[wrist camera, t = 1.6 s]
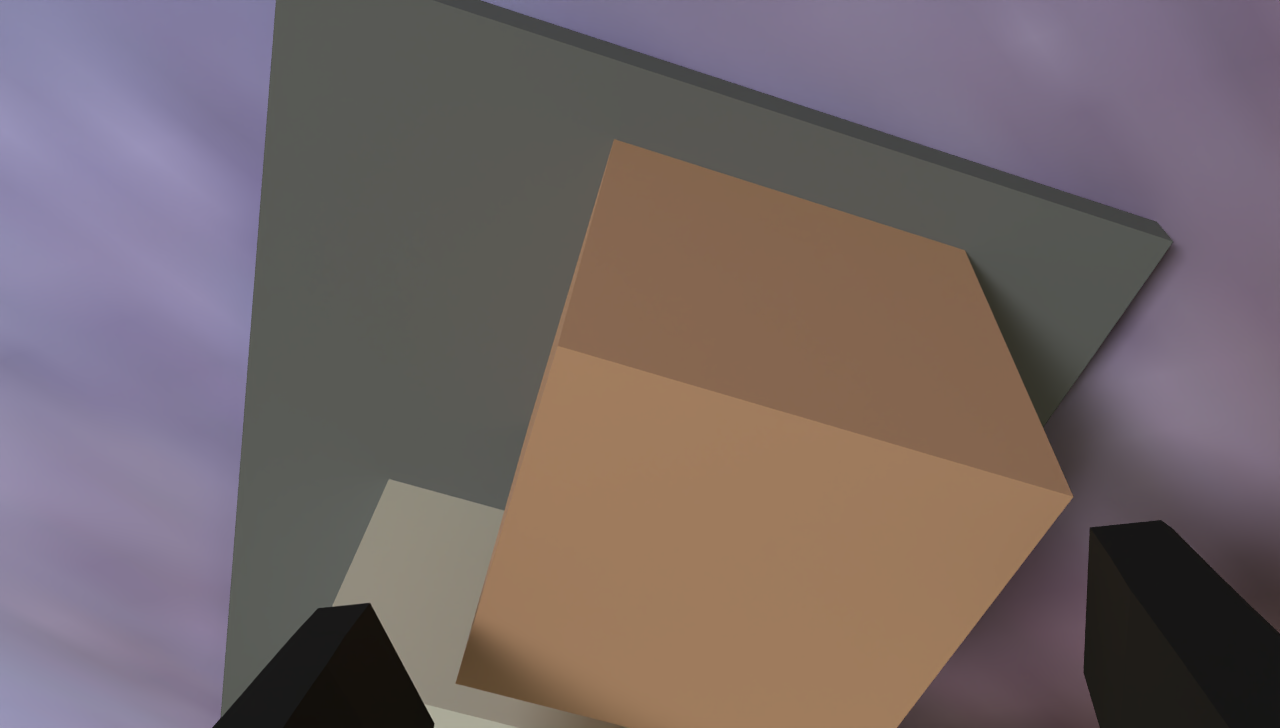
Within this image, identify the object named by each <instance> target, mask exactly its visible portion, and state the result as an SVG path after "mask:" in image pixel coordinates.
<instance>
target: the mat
mask: <svg viewBox="0 0 1280 728" xmlns="http://www.w3.org/2000/svg"><path fill="white" fill-rule="evenodd" d="M614 139H616V140H619V141H622V142H625V143H628V144H631V145H634V146H638V147H641V148H644V149H647V150H650V151H653V152H657V153H660V154H663V155H666V156H669V157H672V158H675V159H679V160H682V161H685V162H688V163H691V164H694V165H698V166H701V167H704V168H707V169H710V170H713V171H716V172H720V173H723V174H726V175H729V176H732V177H735V178H739V179H742V180H745V181H748V182H751V183H754V184H757V185H761V186H764V187H767V188H770V189H773V190H776V191H780V192H783V193H786V194H789V195H792V196H795V197H798V198H802V199H805V200H808V201H811V202H814V203H817V204H821V205H824V206H827V207H830V208H833V209H836V210H839V211H843V212H846V213H849V214H852V215H855V216H858V217H862V218H865V219H868V220H871V221H874V222H877V223H880V224H884V225H887V226H890V227H893V228H896V229H899V230H903V231H906V232H909V233H912V234H915V235H918V236H921V237H925V238H928V239H931V240H934V241H937V242H940V243H943V244H947V245H950V246H953V247H956V248H959V249H962V250H965V252H966V254H967V256H968V259H969V261H970V263H971V265H972V268H973V270H974V272H975V275H976V277H977V279H978V281H979V284H980V286H981V288H982V290H983V293H984V295H985V297H986V299H987V302H988V304H989V306H990V309H991V311H992V313H993V315H994V318H995V320H996V322H997V324H998V327H999V329H1000V331H1001V334H1002V336H1003V338H1004V340H1005V343H1006V345H1007V347H1008V349H1009V352H1010V354H1011V356H1012V359H1013V361H1014V363H1015V365H1016V368H1017V370H1018V372H1019V374H1020V377H1021V379H1022V381H1023V384H1024V386H1025V388H1026V390H1027V393H1028V395H1029V397H1030V399H1031V402H1032V404H1033V406H1034V409H1035V411H1036V413H1037V415H1038V418H1039V420H1040V422H1041V424H1042V427H1044V425H1045V424H1046V422H1047V421H1048V420H1049V418H1050V417H1051V415H1052V414H1053V412H1054V411H1055V410H1056V408H1057V407H1058V405H1059V404H1060V402H1061V401H1062V400H1063V398H1064V397H1065V395H1066V394H1067V392H1068V391H1069V390H1070V388H1071V387H1072V385H1073V384H1074V382H1075V381H1076V380H1077V378H1078V377H1079V375H1080V374H1081V372H1082V371H1083V370H1084V368H1085V367H1086V365H1087V364H1088V362H1089V361H1090V360H1091V358H1092V357H1093V355H1094V354H1095V352H1096V351H1097V350H1098V348H1099V347H1100V345H1101V344H1102V342H1103V341H1104V340H1105V338H1106V337H1107V335H1108V334H1109V332H1110V331H1111V330H1112V328H1113V327H1114V325H1115V324H1116V322H1117V321H1118V320H1119V318H1120V317H1121V315H1122V314H1123V312H1124V311H1125V310H1126V308H1127V307H1128V305H1129V304H1130V302H1131V301H1132V300H1133V298H1134V297H1135V295H1136V294H1137V292H1138V291H1139V290H1140V288H1141V287H1142V285H1143V284H1144V282H1145V281H1146V280H1147V278H1148V277H1149V275H1150V274H1151V272H1152V271H1153V270H1154V268H1155V267H1156V265H1157V264H1158V262H1159V261H1160V260H1161V258H1162V257H1163V255H1164V254H1165V252H1166V251H1167V250H1168V248H1169V247H1170V245H1171V244H1172V242H1173V241H1172V240H1171V238H1170V237H1169V236H1168V235H1167V234H1166V232H1165V231H1164V230H1163V229H1162V228H1161V227H1160V225H1159V224H1158V223H1157V222H1155V221H1152V220H1149V219H1146V218H1143V217H1140V216H1137V215H1134V214H1131V213H1128V212H1125V211H1122V210H1119V209H1116V208H1113V207H1110V206H1107V205H1103V204H1100V203H1097V202H1094V201H1091V200H1088V199H1085V198H1082V197H1079V196H1076V195H1073V194H1070V193H1067V192H1064V191H1061V190H1058V189H1055V188H1052V187H1048V186H1045V185H1042V184H1039V183H1036V182H1033V181H1030V180H1027V179H1024V178H1021V177H1018V176H1015V175H1012V174H1009V173H1006V172H1003V171H1000V170H997V169H994V168H990V167H987V166H984V165H981V164H978V163H975V162H972V161H969V160H966V159H963V158H960V157H957V156H954V155H951V154H948V153H945V152H942V151H939V150H936V149H932V148H929V147H926V146H923V145H920V144H917V143H914V142H911V141H908V140H905V139H902V138H899V137H896V136H893V135H890V134H887V133H884V132H881V131H878V130H874V129H871V128H868V127H865V126H862V125H859V124H856V123H853V122H850V121H847V120H844V119H841V118H838V117H835V116H832V115H829V114H826V113H823V112H819V111H816V110H813V109H810V108H807V107H804V106H801V105H798V104H795V103H792V102H789V101H786V100H783V99H780V98H777V97H774V96H771V95H768V94H765V93H761V92H758V91H755V90H752V89H749V88H746V87H743V86H740V85H737V84H734V83H731V82H728V81H725V80H722V79H719V78H716V77H713V76H710V75H707V74H703V73H700V72H697V71H694V70H691V69H688V68H685V67H682V66H679V65H676V64H673V63H670V62H667V61H664V60H661V59H658V58H655V57H652V56H649V55H645V54H642V53H639V52H636V51H633V50H630V49H627V48H624V47H621V46H618V45H615V44H612V43H609V42H606V41H603V40H600V39H597V38H594V37H590V36H587V35H584V34H581V33H578V32H575V31H572V30H569V29H566V28H563V27H560V26H557V25H554V24H551V23H548V22H545V21H542V20H539V19H536V18H532V17H529V16H526V15H523V14H520V13H517V12H514V11H511V10H508V9H505V8H502V7H499V6H496V5H493V4H490V3H487V2H484V1H481V0H276V8H275V20H274V33H273V46H272V59H271V72H270V85H269V98H268V111H267V124H266V137H265V150H264V163H263V176H262V189H261V202H260V215H259V228H258V241H257V254H256V267H255V279H254V292H253V305H252V318H251V331H250V344H249V357H248V370H247V383H246V396H245V409H244V422H243V435H242V448H241V461H240V474H239V487H238V500H237V513H236V526H235V538H234V551H233V564H232V577H231V590H230V603H229V616H228V629H227V642H226V655H225V668H224V681H223V694H222V707H221V717H222V716H223V715H224V714H225V713H226V712H227V710H228V709H229V708H230V707H231V706H232V705H233V704H234V702H235V701H236V700H237V699H238V698H239V697H240V695H241V694H242V693H243V692H244V691H245V690H246V689H247V687H248V686H249V685H250V684H251V683H252V682H253V680H254V679H255V678H256V677H257V676H258V675H259V673H260V672H261V671H262V670H263V669H264V668H265V667H266V665H267V664H268V663H269V662H270V661H271V660H272V659H273V657H274V656H275V655H276V654H277V653H278V652H279V650H280V649H281V648H282V647H283V646H284V645H285V644H286V643H287V641H288V640H289V639H290V638H291V637H292V636H293V635H294V634H295V632H296V631H297V630H298V629H299V628H300V627H301V626H302V625H303V624H304V623H305V621H306V620H307V619H308V618H309V617H310V616H311V615H312V614H313V613H314V612H315V611H316V610H317V609H318V608H324V607H332V605H333V603H334V601H335V599H336V597H337V594H338V592H339V590H340V588H341V585H342V583H343V581H344V579H345V576H346V574H347V572H348V570H349V567H350V565H351V563H352V561H353V558H354V556H355V554H356V552H357V549H358V547H359V545H360V543H361V541H362V538H363V536H364V534H365V532H366V529H367V527H368V525H369V523H370V520H371V518H372V516H373V514H374V511H375V509H376V507H377V505H378V502H379V500H380V498H381V496H382V493H383V491H384V489H385V487H386V485H387V482H388V480H389V479H391V480H394V481H398V482H402V483H405V484H409V485H413V486H416V487H420V488H424V489H427V490H431V491H435V492H438V493H442V494H446V495H449V496H453V497H457V498H460V499H464V500H468V501H471V502H475V503H479V504H482V505H486V506H490V507H493V508H497V509H501V510H505V507H506V503H507V500H508V496H509V493H510V489H511V486H512V482H513V478H514V475H515V471H516V468H517V464H518V461H519V457H520V454H521V450H522V447H523V443H524V440H525V436H526V433H527V429H528V426H529V422H530V419H531V415H532V412H533V409H534V405H535V402H536V399H537V395H538V392H539V389H540V385H541V382H542V379H543V375H544V372H545V369H546V365H547V362H548V359H549V355H550V352H551V348H552V345H553V342H554V338H555V335H556V332H557V328H558V325H559V322H560V318H561V315H562V312H563V308H564V305H565V302H566V298H567V295H568V292H569V288H570V285H571V282H572V278H573V275H574V272H575V268H576V265H577V262H578V258H579V255H580V251H581V248H582V245H583V241H584V238H585V235H586V231H587V228H588V225H589V221H590V218H591V215H592V211H593V208H594V205H595V201H596V198H597V195H598V191H599V188H600V185H601V181H602V178H603V175H604V171H605V168H606V164H607V161H608V158H609V154H610V151H611V148H612V144H613V141H614Z"/></svg>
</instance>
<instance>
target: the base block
mask: <svg viewBox="0 0 1280 728" xmlns="http://www.w3.org/2000/svg"><path fill="white" fill-rule="evenodd" d="M503 514H504V510H501V509H497V508H493V507H490V506H486V505H482V504H479V503H475V502H471V501H468V500H464V499H460V498H457V497H453V496H449V495H446V494H442V493H438V492H435V491H431V490H427V489H424V488H420V487H416V486H413V485H409V484H405V483H402V482H398V481H394V480H391V479H389V480H388V482H387V485H386V487H385V489H384V491H383V493H382V496H381V498H380V500H379V502H378V505H377V507H376V509H375V511H374V514H373V516H372V518H371V520H370V523H369V525H368V527H367V529H366V532H365V534H364V536H363V538H362V541H361V543H360V545H359V547H358V549H357V552H356V554H355V556H354V558H353V561H352V563H351V565H350V567H349V570H348V572H347V574H346V576H345V579H344V581H343V583H342V585H341V588H340V590H339V592H338V594H337V597H336V599H335V601H334V603H333V605H332V607H334V606H343V605H353V604H363V603H371V605H372V607H373V609H374V611H375V613H376V615H377V617H378V618H379V620H380V622H381V624H382V626H383V628H384V630H385V632H386V633H387V635H388V637H389V639H390V641H391V643H392V645H393V647H394V648H395V650H396V652H397V654H398V656H399V658H400V660H401V662H402V663H403V665H404V667H405V669H406V671H407V673H408V675H409V677H410V678H411V680H412V682H413V684H414V686H415V688H416V690H417V691H418V693H419V695H420V697H421V699H422V701H423V703H424V705H425V706H426V708H427V710H428V712H429V714H430V716H431V718H432V720H433V721H434V728H629V727H625V726H621V725H617V724H613V723H609V722H605V721H601V720H597V719H593V718H589V717H585V716H581V715H577V714H573V713H570V712H566V711H562V710H558V709H554V708H550V707H546V706H542V705H538V704H534V703H530V702H526V701H522V700H518V699H514V698H510V697H506V696H502V695H498V694H495V693H491V692H487V691H483V690H479V689H475V688H471V687H467V686H463V685H459V684H455V683H456V680H457V676H458V673H459V669H460V666H461V662H462V658H463V655H464V651H465V648H466V644H467V641H468V637H469V634H470V630H471V627H472V623H473V620H474V616H475V613H476V609H477V606H478V602H479V598H480V595H481V591H482V588H483V584H484V581H485V577H486V574H487V570H488V567H489V563H490V560H491V556H492V553H493V549H494V546H495V542H496V538H497V535H498V531H499V528H500V524H501V521H502V517H503Z"/></svg>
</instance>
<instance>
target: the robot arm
mask: <svg viewBox="0 0 1280 728" xmlns="http://www.w3.org/2000/svg"><path fill="white" fill-rule="evenodd" d="M1084 675H1085V679H1086V682H1087V685H1088V689H1089V692H1090V696H1091V699H1092V702H1093V706H1094V709H1095V713H1096V716H1097V719H1098V723H1099V726H1100V728H1280V633H1279V632H1278V631H1276V630H1275V629H1274V628H1273V627H1272V626H1271V625H1270V624H1269V623H1268V622H1267V621H1266V620H1265V619H1264V618H1263V617H1262V616H1261V615H1260V614H1259V613H1258V612H1256V611H1255V610H1254V609H1253V608H1252V607H1251V606H1250V605H1249V604H1248V603H1247V602H1246V601H1245V600H1244V599H1243V598H1242V597H1241V596H1240V595H1239V594H1238V593H1237V592H1236V591H1235V590H1234V589H1233V588H1232V587H1231V586H1230V585H1229V584H1227V583H1226V582H1225V581H1224V580H1223V579H1222V578H1221V577H1220V576H1219V575H1218V574H1217V573H1216V572H1215V571H1214V570H1213V569H1212V568H1211V567H1210V566H1209V565H1208V564H1207V563H1206V562H1205V561H1204V560H1203V559H1202V558H1201V557H1200V556H1199V555H1198V554H1197V553H1196V552H1195V551H1194V550H1193V549H1192V548H1191V547H1190V546H1189V545H1188V544H1187V543H1186V542H1185V541H1184V540H1183V539H1182V538H1181V537H1180V536H1179V535H1178V534H1177V533H1176V532H1175V531H1174V530H1173V529H1172V528H1171V527H1170V526H1168V525H1167V524H1165V523H1164V522H1163V521H1161V520H1158V521H1148V522H1139V523H1129V524H1120V525H1110V526H1101V527H1091V528H1090V537H1089V560H1088V583H1087V606H1086V628H1085V651H1084ZM213 728H434V721H433V720H432V718H431V716H430V714H429V712H428V710H427V708H426V706H425V705H424V703H423V701H422V699H421V697H420V695H419V693H418V691H417V690H416V688H415V686H414V684H413V682H412V680H411V678H410V677H409V675H408V673H407V671H406V669H405V667H404V665H403V663H402V662H401V660H400V658H399V656H398V654H397V652H396V650H395V648H394V647H393V645H392V643H391V641H390V639H389V637H388V635H387V633H386V632H385V630H384V628H383V626H382V624H381V622H380V620H379V618H378V617H377V615H376V613H375V611H374V609H373V607H372V605H371V603H363V604H353V605H343V606H334V607H324V608H318V609H317V610H316V611H315V612H314V613H313V614H312V615H311V616H310V617H309V618H308V619H307V620H306V621H305V623H304V624H303V625H302V626H301V627H300V628H299V629H298V630H297V631H296V632H295V634H294V635H293V636H292V637H291V638H290V639H289V640H288V641H287V643H286V644H285V645H284V646H283V647H282V648H281V649H280V650H279V652H278V653H277V654H276V655H275V656H274V657H273V659H272V660H271V661H270V662H269V663H268V664H267V665H266V667H265V668H264V669H263V670H262V671H261V672H260V673H259V675H258V676H257V677H256V678H255V679H254V680H253V682H252V683H251V684H250V685H249V686H248V687H247V689H246V690H245V691H244V692H243V693H242V694H241V695H240V697H239V698H238V699H237V700H236V701H235V702H234V704H233V705H232V706H231V707H230V708H229V709H228V710H227V712H226V713H225V714H224V715H223V716H222V717H221V718H220V720H219V721H218V722H217V723H216V724H215V725H214V726H213Z"/></svg>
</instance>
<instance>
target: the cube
mask: <svg viewBox="0 0 1280 728" xmlns="http://www.w3.org/2000/svg"><path fill="white" fill-rule="evenodd" d="M1072 498H1073V495H1072V493H1071V490H1070V488H1069V486H1068V483H1067V481H1066V479H1065V477H1064V474H1063V472H1062V470H1061V468H1060V465H1059V463H1058V461H1057V458H1056V456H1055V454H1054V452H1053V449H1052V447H1051V445H1050V443H1049V440H1048V438H1047V436H1046V433H1045V431H1044V429H1043V427H1042V424H1041V422H1040V420H1039V418H1038V415H1037V413H1036V411H1035V409H1034V406H1033V404H1032V402H1031V399H1030V397H1029V395H1028V393H1027V390H1026V388H1025V386H1024V384H1023V381H1022V379H1021V377H1020V374H1019V372H1018V370H1017V368H1016V365H1015V363H1014V361H1013V359H1012V356H1011V354H1010V352H1009V349H1008V347H1007V345H1006V343H1005V340H1004V338H1003V336H1002V334H1001V331H1000V329H999V327H998V324H997V322H996V320H995V318H994V315H993V313H992V311H991V309H990V306H989V304H988V302H987V299H986V297H985V295H984V293H983V290H982V288H981V286H980V284H979V281H978V279H977V277H976V275H975V272H974V270H973V268H972V265H971V263H970V261H969V259H968V256H967V254H966V252H965V250H962V249H959V248H956V247H953V246H950V245H947V244H943V243H940V242H937V241H934V240H931V239H928V238H925V237H921V236H918V235H915V234H912V233H909V232H906V231H903V230H899V229H896V228H893V227H890V226H887V225H884V224H880V223H877V222H874V221H871V220H868V219H865V218H862V217H858V216H855V215H852V214H849V213H846V212H843V211H839V210H836V209H833V208H830V207H827V206H824V205H821V204H817V203H814V202H811V201H808V200H805V199H802V198H798V197H795V196H792V195H789V194H786V193H783V192H780V191H776V190H773V189H770V188H767V187H764V186H761V185H757V184H754V183H751V182H748V181H745V180H742V179H739V178H735V177H732V176H729V175H726V174H723V173H720V172H716V171H713V170H710V169H707V168H704V167H701V166H698V165H694V164H691V163H688V162H685V161H682V160H679V159H675V158H672V157H669V156H666V155H663V154H660V153H657V152H653V151H650V150H647V149H644V148H641V147H638V146H634V145H631V144H628V143H625V142H622V141H619V140H616V139H614V141H613V144H612V148H611V151H610V154H609V158H608V161H607V164H606V168H605V171H604V175H603V178H602V181H601V185H600V188H599V191H598V195H597V198H596V201H595V205H594V208H593V211H592V215H591V218H590V221H589V225H588V228H587V231H586V235H585V238H584V241H583V245H582V248H581V251H580V255H579V258H578V262H577V265H576V268H575V272H574V275H573V278H572V282H571V285H570V288H569V292H568V295H567V298H566V302H565V305H564V308H563V312H562V315H561V318H560V322H559V325H558V328H557V332H556V335H555V338H554V342H553V345H552V348H551V352H550V355H549V359H548V362H547V365H546V369H545V372H544V375H543V379H542V382H541V385H540V389H539V392H538V395H537V399H536V402H535V405H534V409H533V412H532V415H531V419H530V422H529V426H528V429H527V433H526V436H525V440H524V443H523V447H522V450H521V454H520V457H519V461H518V464H517V468H516V471H515V475H514V478H513V482H512V486H511V489H510V493H509V496H508V500H507V503H506V507H505V510H504V514H503V517H502V521H501V524H500V528H499V531H498V535H497V538H496V542H495V546H494V549H493V553H492V556H491V560H490V563H489V567H488V570H487V574H486V577H485V581H484V584H483V588H482V591H481V595H480V598H479V602H478V606H477V609H476V613H475V616H474V620H473V623H472V627H471V630H470V634H469V637H468V641H467V644H466V648H465V651H464V655H463V658H462V662H461V666H460V669H459V673H458V676H457V680H456V683H455V684H459V685H463V686H467V687H471V688H475V689H479V690H483V691H487V692H491V693H495V694H498V695H502V696H506V697H510V698H514V699H518V700H522V701H526V702H530V703H534V704H538V705H542V706H546V707H550V708H554V709H558V710H562V711H566V712H570V713H573V714H577V715H581V716H585V717H589V718H593V719H597V720H601V721H605V722H609V723H613V724H617V725H621V726H625V727H629V728H897V727H898V725H899V724H900V723H901V722H902V720H903V719H904V718H905V716H906V715H907V714H908V712H909V711H910V710H911V708H912V707H913V706H914V705H915V703H916V702H917V701H918V699H919V698H920V697H921V695H922V694H923V693H924V691H925V690H926V689H927V688H928V686H929V685H930V684H931V682H932V681H933V680H934V678H935V677H936V676H937V674H938V673H939V672H940V671H941V669H942V668H943V667H944V665H945V664H946V663H947V661H948V660H949V659H950V657H951V656H952V655H953V654H954V652H955V651H956V650H957V648H958V647H959V646H960V644H961V643H962V642H963V640H964V639H965V638H966V637H967V635H968V634H969V633H970V631H971V630H972V629H973V627H974V626H975V625H976V623H977V622H978V621H979V620H980V618H981V617H982V616H983V614H984V613H985V612H986V610H987V609H988V608H989V606H990V605H991V604H992V603H993V601H994V600H995V599H996V597H997V596H998V595H999V593H1000V592H1001V591H1002V589H1003V588H1004V587H1005V586H1006V584H1007V583H1008V582H1009V580H1010V579H1011V578H1012V576H1013V575H1014V574H1015V572H1016V571H1017V570H1018V569H1019V567H1020V566H1021V565H1022V563H1023V562H1024V561H1025V559H1026V558H1027V557H1028V555H1029V554H1030V553H1031V552H1032V550H1033V549H1034V548H1035V546H1036V545H1037V544H1038V542H1039V541H1040V540H1041V538H1042V537H1043V536H1044V535H1045V533H1046V532H1047V531H1048V529H1049V528H1050V527H1051V525H1052V524H1053V523H1054V521H1055V520H1056V519H1057V518H1058V516H1059V515H1060V514H1061V512H1062V511H1063V510H1064V508H1065V507H1066V506H1067V504H1068V503H1069V502H1070V501H1071V499H1072Z"/></svg>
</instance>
